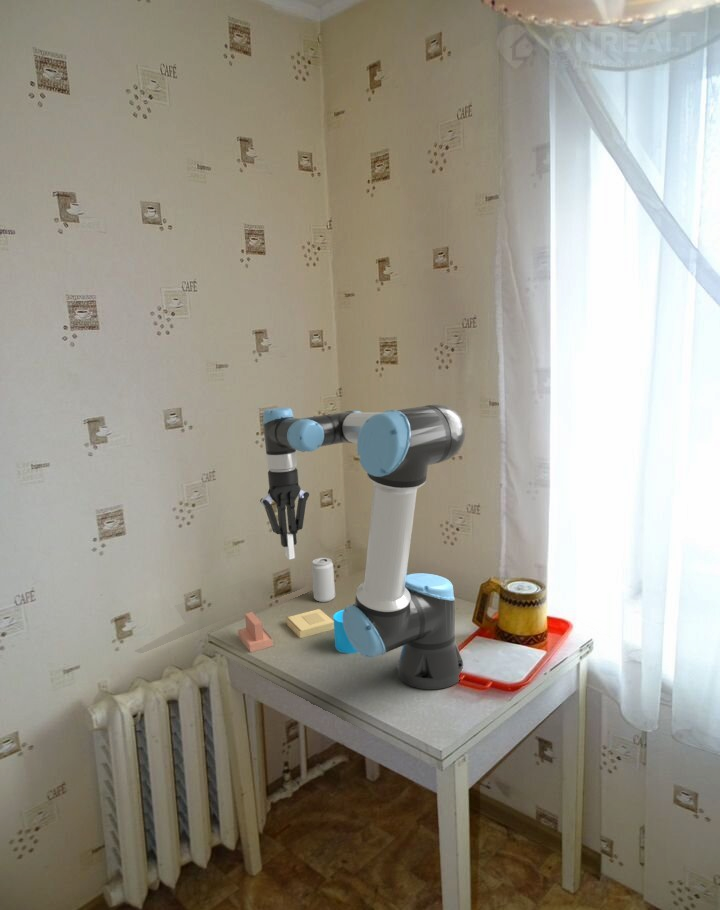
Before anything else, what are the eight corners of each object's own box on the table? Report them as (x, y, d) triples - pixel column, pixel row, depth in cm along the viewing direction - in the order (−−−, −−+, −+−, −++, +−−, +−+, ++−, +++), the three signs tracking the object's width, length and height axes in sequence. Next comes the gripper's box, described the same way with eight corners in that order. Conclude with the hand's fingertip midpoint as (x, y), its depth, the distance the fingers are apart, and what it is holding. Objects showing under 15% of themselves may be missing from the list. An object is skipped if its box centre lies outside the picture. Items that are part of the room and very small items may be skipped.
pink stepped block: (272, 645, 173) (270, 622, 172) (250, 652, 170) (248, 628, 169) (260, 631, 182) (258, 608, 181) (238, 636, 179) (236, 614, 178)
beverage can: (339, 596, 202) (337, 558, 200) (327, 604, 197) (324, 565, 194) (322, 593, 205) (319, 555, 203) (309, 600, 200) (306, 562, 198)
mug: (370, 650, 168) (368, 620, 166) (338, 655, 166) (336, 624, 165) (360, 630, 180) (359, 601, 178) (330, 634, 178) (328, 605, 176)
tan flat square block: (334, 628, 181) (334, 621, 180) (300, 638, 176) (299, 630, 176) (319, 615, 190) (319, 608, 189) (286, 624, 185) (286, 617, 185)
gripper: (300, 463, 177) (307, 548, 182) (253, 470, 171) (261, 559, 176) (311, 467, 171) (318, 555, 175) (263, 475, 165) (272, 566, 169)
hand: (290, 557), depth 175 cm, fingers closed
